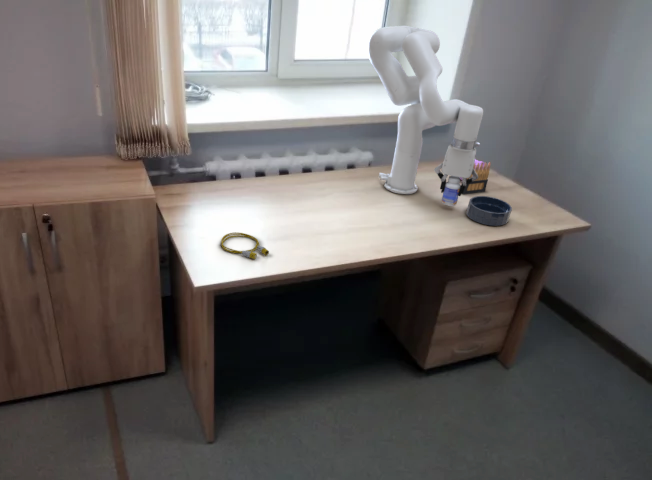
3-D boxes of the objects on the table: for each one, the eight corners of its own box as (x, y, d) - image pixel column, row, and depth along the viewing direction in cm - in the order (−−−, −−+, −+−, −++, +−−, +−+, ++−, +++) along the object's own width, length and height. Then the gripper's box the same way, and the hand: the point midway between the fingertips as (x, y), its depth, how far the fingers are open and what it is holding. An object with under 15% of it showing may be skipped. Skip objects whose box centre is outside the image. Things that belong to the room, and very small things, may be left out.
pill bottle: (456, 207, 188) (463, 181, 182) (441, 205, 188) (447, 179, 183) (455, 201, 192) (462, 175, 187) (440, 199, 193) (446, 173, 187)
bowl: (463, 220, 183) (467, 207, 180) (468, 205, 194) (471, 192, 191) (506, 230, 179) (510, 217, 176) (508, 214, 190) (512, 201, 187)
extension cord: (230, 263, 150) (230, 257, 149) (216, 237, 163) (216, 232, 162) (270, 258, 154) (270, 252, 153) (253, 233, 167) (253, 227, 165)
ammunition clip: (462, 194, 202) (470, 164, 196) (459, 192, 204) (467, 162, 197) (485, 191, 206) (493, 162, 199) (481, 189, 207) (490, 160, 201)
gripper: (490, 144, 179) (476, 194, 188) (439, 136, 184) (428, 184, 194) (488, 151, 173) (474, 202, 183) (436, 142, 178) (425, 191, 188)
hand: (451, 192), depth 188 cm, fingers closed on pill bottle, 5 cm apart
